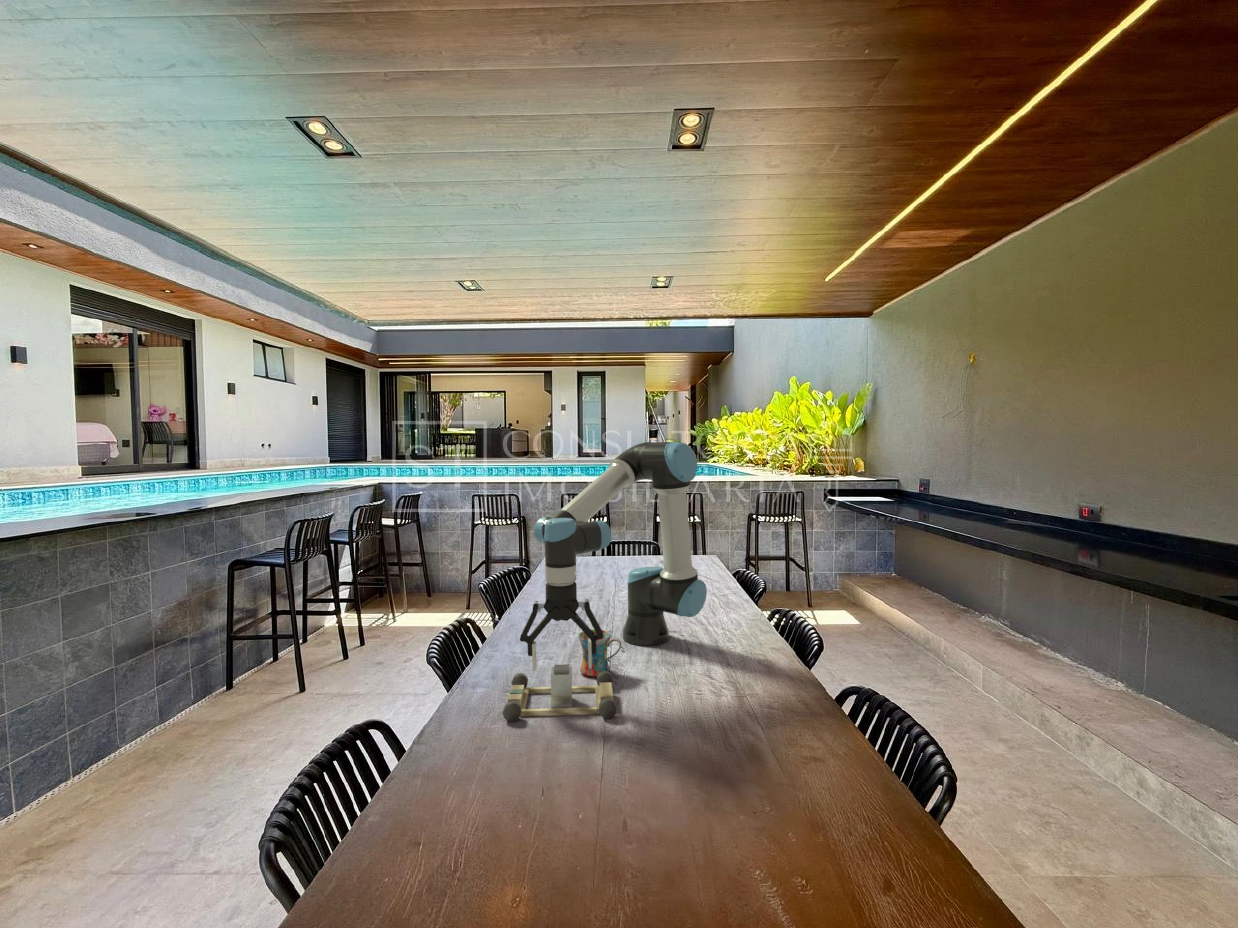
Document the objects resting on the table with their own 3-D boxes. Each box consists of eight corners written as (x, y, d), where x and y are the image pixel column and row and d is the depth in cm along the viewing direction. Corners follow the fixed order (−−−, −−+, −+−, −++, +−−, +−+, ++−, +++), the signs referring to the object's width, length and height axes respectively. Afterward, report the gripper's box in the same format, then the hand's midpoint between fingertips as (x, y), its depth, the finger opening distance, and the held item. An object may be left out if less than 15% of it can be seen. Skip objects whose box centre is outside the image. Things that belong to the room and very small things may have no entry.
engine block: (571, 697, 142) (571, 663, 141) (571, 706, 137) (571, 671, 136) (551, 698, 141) (551, 663, 141) (551, 707, 136) (550, 671, 136)
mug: (576, 679, 153) (576, 640, 152) (579, 665, 162) (579, 629, 162) (621, 679, 153) (621, 640, 152) (621, 665, 162) (621, 629, 162)
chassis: (612, 685, 149) (612, 670, 149) (616, 718, 131) (616, 701, 131) (512, 688, 147) (512, 673, 147) (502, 722, 129) (502, 704, 129)
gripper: (611, 576, 142) (612, 659, 143) (511, 579, 141) (513, 663, 142) (612, 584, 135) (613, 671, 136) (507, 587, 133) (509, 675, 134)
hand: (562, 667), depth 139 cm, fingers open, 13 cm apart
